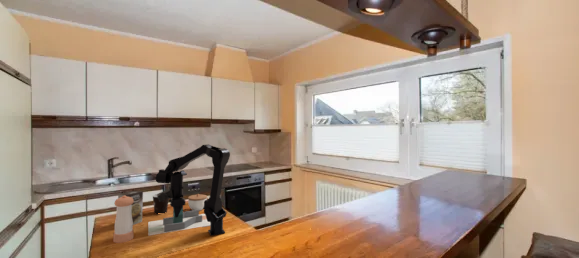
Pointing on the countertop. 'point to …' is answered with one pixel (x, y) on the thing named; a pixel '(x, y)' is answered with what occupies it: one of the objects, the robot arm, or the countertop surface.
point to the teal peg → (179, 218)
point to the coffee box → (135, 205)
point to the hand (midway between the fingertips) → (176, 215)
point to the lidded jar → (197, 201)
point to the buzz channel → (189, 221)
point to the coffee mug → (160, 205)
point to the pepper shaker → (123, 220)
